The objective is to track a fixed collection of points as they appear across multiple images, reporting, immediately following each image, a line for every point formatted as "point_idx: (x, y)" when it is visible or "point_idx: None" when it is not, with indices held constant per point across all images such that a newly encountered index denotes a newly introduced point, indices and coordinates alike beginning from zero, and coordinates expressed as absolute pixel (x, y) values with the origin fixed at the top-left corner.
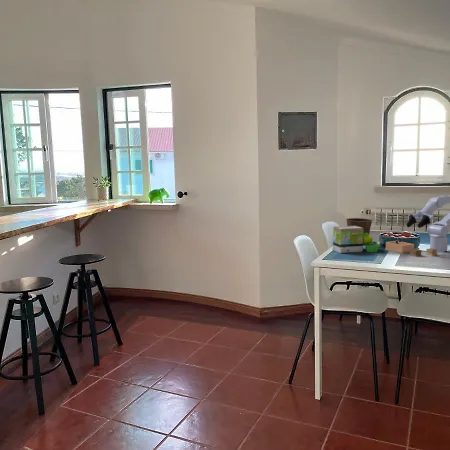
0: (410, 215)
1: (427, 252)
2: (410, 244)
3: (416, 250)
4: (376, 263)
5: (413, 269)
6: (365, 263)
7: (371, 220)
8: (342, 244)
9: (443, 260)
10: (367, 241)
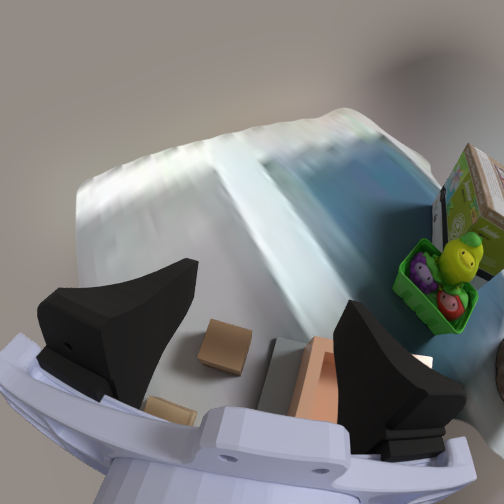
0: (448, 385)
1: (185, 408)
2: (303, 410)
3: (213, 329)
4: (271, 160)
5: (152, 168)
6: (292, 147)
7: None
8: (444, 187)
9: None
10: (443, 250)
